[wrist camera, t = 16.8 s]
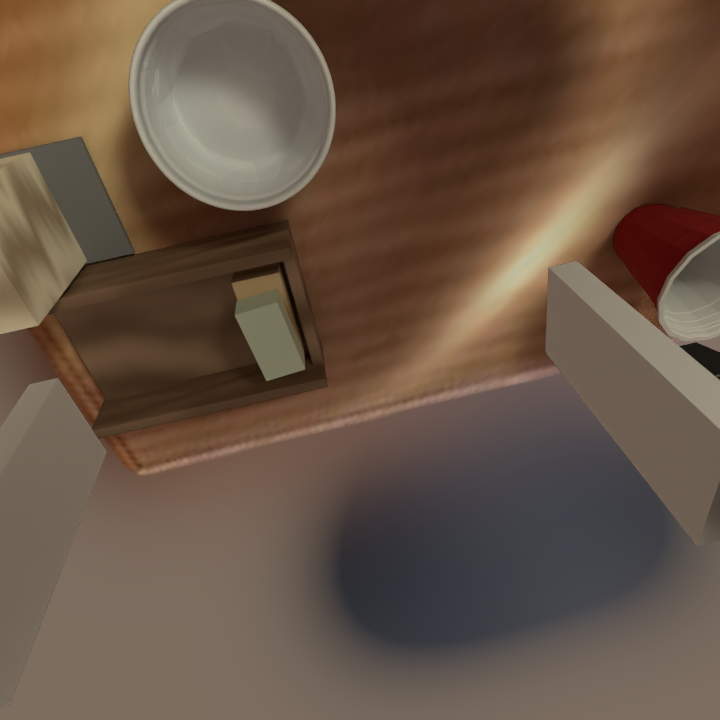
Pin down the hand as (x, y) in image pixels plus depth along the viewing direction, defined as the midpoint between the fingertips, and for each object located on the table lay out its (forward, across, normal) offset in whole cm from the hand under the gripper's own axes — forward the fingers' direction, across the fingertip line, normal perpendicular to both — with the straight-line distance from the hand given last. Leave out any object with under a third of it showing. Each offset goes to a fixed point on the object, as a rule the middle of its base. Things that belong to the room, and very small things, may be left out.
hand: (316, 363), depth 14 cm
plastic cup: (+33, +31, -16) cm, 48 cm away
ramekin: (+33, -3, +3) cm, 33 cm away
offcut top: (+28, -6, -14) cm, 32 cm away
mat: (+33, -21, -2) cm, 39 cm away
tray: (+33, -13, -14) cm, 38 cm away
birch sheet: (+32, -21, -2) cm, 39 cm away
